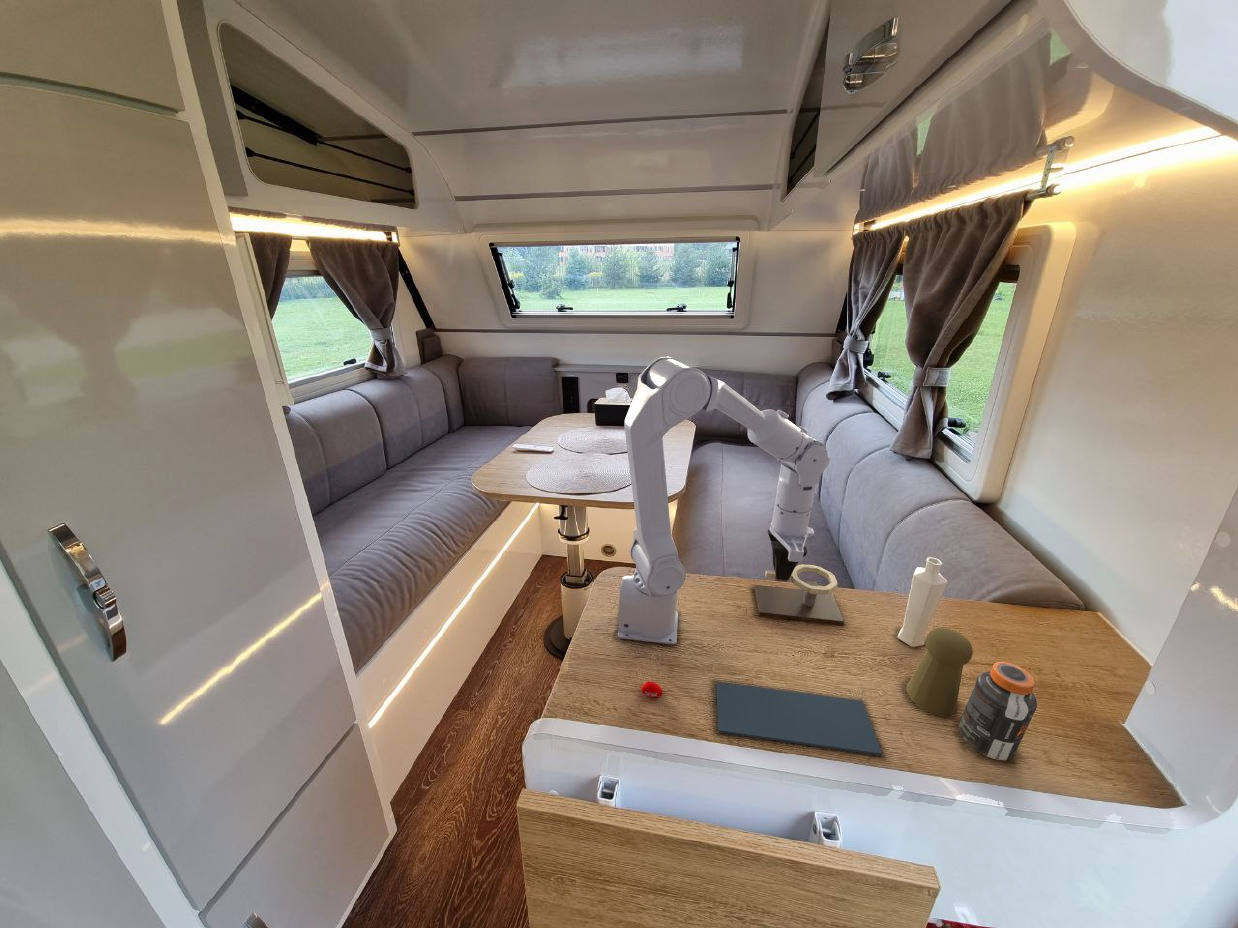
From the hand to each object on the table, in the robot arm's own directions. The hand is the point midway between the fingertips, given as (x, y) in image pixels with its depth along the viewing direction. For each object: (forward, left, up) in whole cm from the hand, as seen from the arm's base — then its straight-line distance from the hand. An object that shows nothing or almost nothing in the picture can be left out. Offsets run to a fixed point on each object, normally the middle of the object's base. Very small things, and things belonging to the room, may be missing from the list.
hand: (780, 574), depth 83 cm
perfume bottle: (+21, -6, -7) cm, 22 cm away
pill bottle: (+23, -24, -7) cm, 33 cm away
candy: (-20, -24, -7) cm, 32 cm away
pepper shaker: (+19, -18, -7) cm, 26 cm away
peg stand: (+4, 0, -6) cm, 7 cm away
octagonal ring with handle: (+3, 0, -1) cm, 3 cm away
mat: (-1, -24, -6) cm, 25 cm away
